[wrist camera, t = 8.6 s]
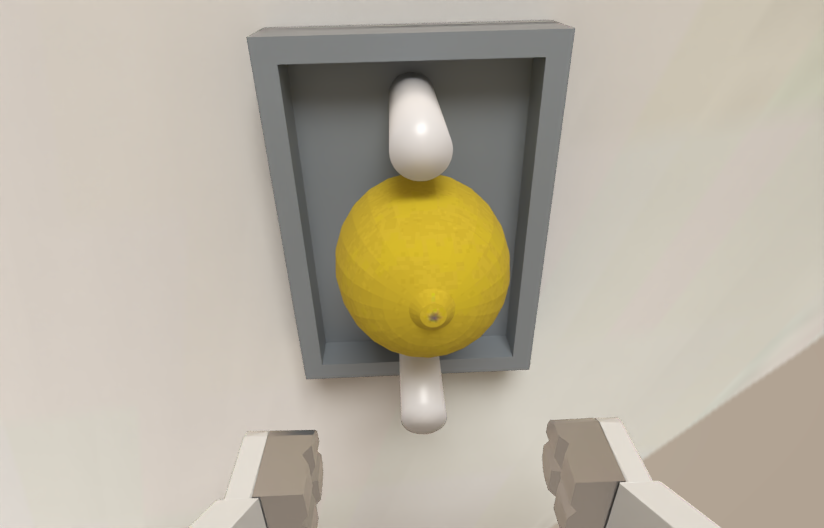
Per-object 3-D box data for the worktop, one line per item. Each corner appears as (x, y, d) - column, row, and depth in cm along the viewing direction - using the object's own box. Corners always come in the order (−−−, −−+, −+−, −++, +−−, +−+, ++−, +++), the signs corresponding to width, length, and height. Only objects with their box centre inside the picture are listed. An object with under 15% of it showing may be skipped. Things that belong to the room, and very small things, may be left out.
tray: (263, 27, 17) (197, 63, 11) (552, 19, 18) (637, 51, 12) (313, 342, 25) (289, 465, 19) (516, 334, 25) (558, 453, 19)
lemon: (344, 287, 21) (324, 408, 13) (343, 151, 19) (320, 205, 11) (475, 289, 21) (528, 408, 14) (489, 157, 19) (558, 213, 12)
